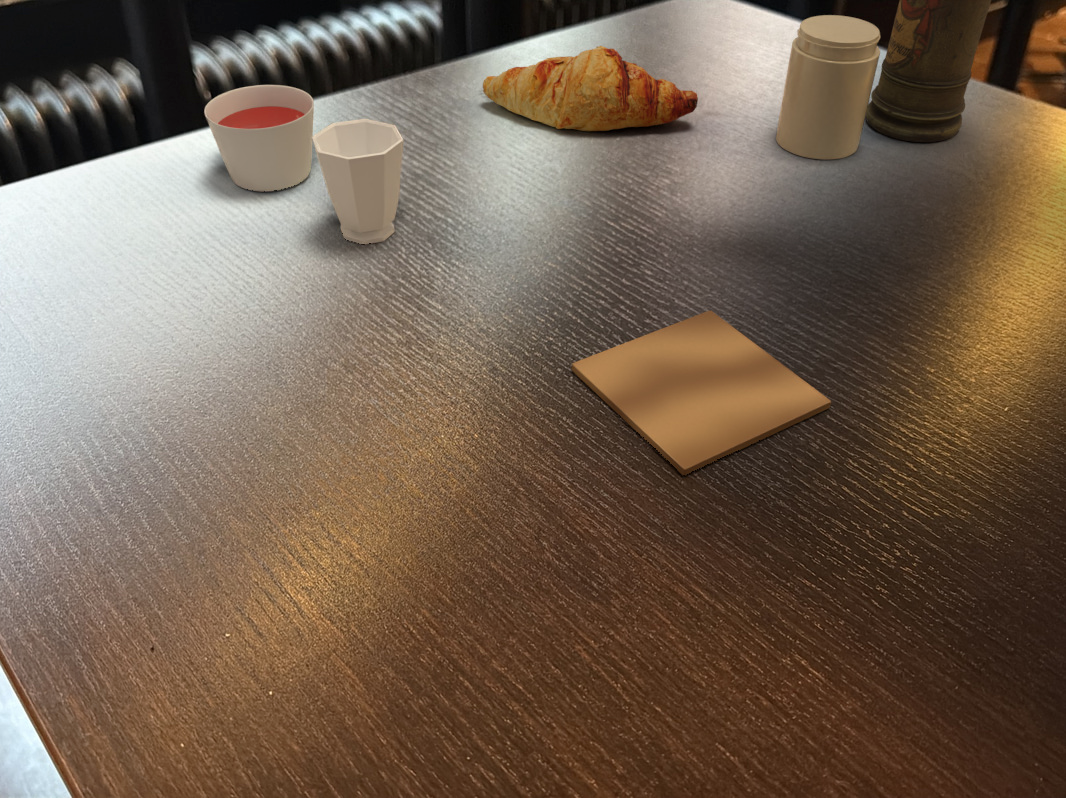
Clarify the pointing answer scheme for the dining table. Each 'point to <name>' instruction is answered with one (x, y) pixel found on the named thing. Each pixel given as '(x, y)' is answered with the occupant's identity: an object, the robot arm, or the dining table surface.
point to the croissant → (589, 93)
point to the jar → (828, 86)
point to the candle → (263, 135)
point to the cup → (362, 176)
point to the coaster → (699, 390)
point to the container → (927, 69)
